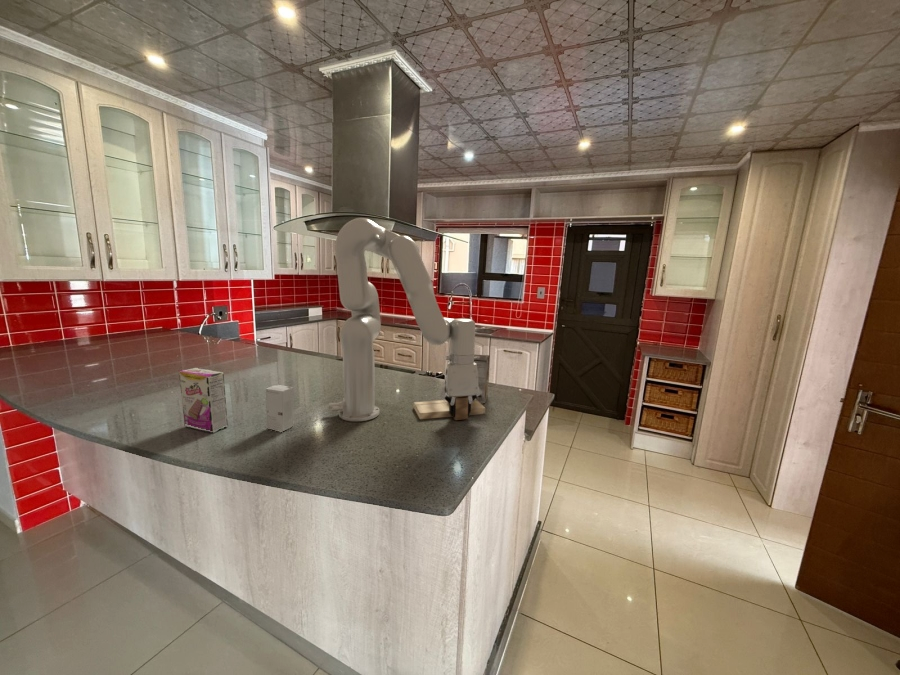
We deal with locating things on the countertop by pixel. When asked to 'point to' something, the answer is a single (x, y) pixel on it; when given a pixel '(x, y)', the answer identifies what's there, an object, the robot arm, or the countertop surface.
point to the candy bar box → (203, 398)
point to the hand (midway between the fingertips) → (459, 414)
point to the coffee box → (482, 376)
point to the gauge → (461, 408)
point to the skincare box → (279, 407)
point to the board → (442, 409)
